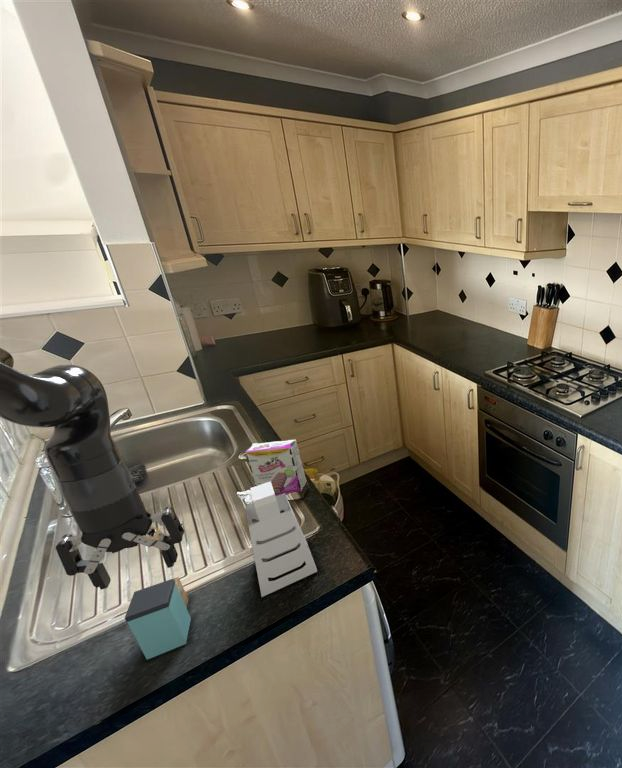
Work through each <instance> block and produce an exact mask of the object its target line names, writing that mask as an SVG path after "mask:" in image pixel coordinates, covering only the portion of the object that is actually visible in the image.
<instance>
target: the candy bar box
mask: <svg viewBox="0 0 622 768" xmlns="http://www.w3.org/2000/svg"><path fill="white" fill-rule="evenodd" d="M245 456H246V460H247V464H248V466H249V470H250V473H251V476H252V479H253V482H254V485H255V486H258V485H261V484H264V483H267V482H270V481H271V483H272V487H273V490H274V493H275V496H278V495H281V494H284V493H285V494H286V495H287V494H289V493H293V492H297V491H302V489H303V487H304V486H305V484H306V482H307V483H308V481H307V477H306V473H305V469H304V465H303V462H302V458H301V454H300V449H299V446H298V441H297V439H286V440H277V441H276V440H275V441H267V442H265V441H264V442H255V443H252V444H251V445H250V446H249V447H248V449H246V450H245ZM255 486H254V487H255Z"/></svg>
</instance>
